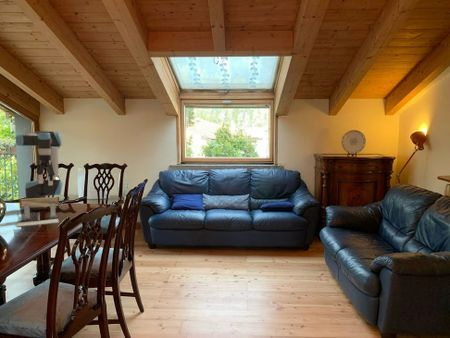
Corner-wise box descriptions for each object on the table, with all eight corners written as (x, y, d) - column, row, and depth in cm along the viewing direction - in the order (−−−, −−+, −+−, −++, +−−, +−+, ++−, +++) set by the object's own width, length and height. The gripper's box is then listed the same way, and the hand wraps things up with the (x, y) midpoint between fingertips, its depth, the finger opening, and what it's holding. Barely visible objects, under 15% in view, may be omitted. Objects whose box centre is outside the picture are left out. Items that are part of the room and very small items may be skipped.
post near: (23, 219, 219) (22, 203, 219) (31, 218, 222) (31, 203, 221) (22, 221, 214) (22, 205, 213) (31, 220, 217) (30, 204, 216)
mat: (17, 223, 209) (17, 222, 209) (58, 219, 221) (58, 218, 221) (16, 227, 200) (16, 226, 200) (58, 222, 212) (58, 222, 212)
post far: (49, 217, 227) (48, 202, 226) (57, 216, 230) (56, 201, 229) (49, 219, 222) (48, 203, 221) (57, 218, 225) (56, 202, 224)
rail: (20, 207, 217) (19, 198, 216) (59, 204, 229) (58, 196, 229) (19, 208, 214) (19, 199, 213) (59, 205, 226) (59, 197, 225)
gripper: (30, 154, 221) (31, 183, 223) (48, 155, 208) (49, 186, 210) (41, 153, 228) (42, 182, 229) (59, 155, 214) (60, 185, 216)
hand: (45, 184), depth 220 cm, fingers open, 13 cm apart
